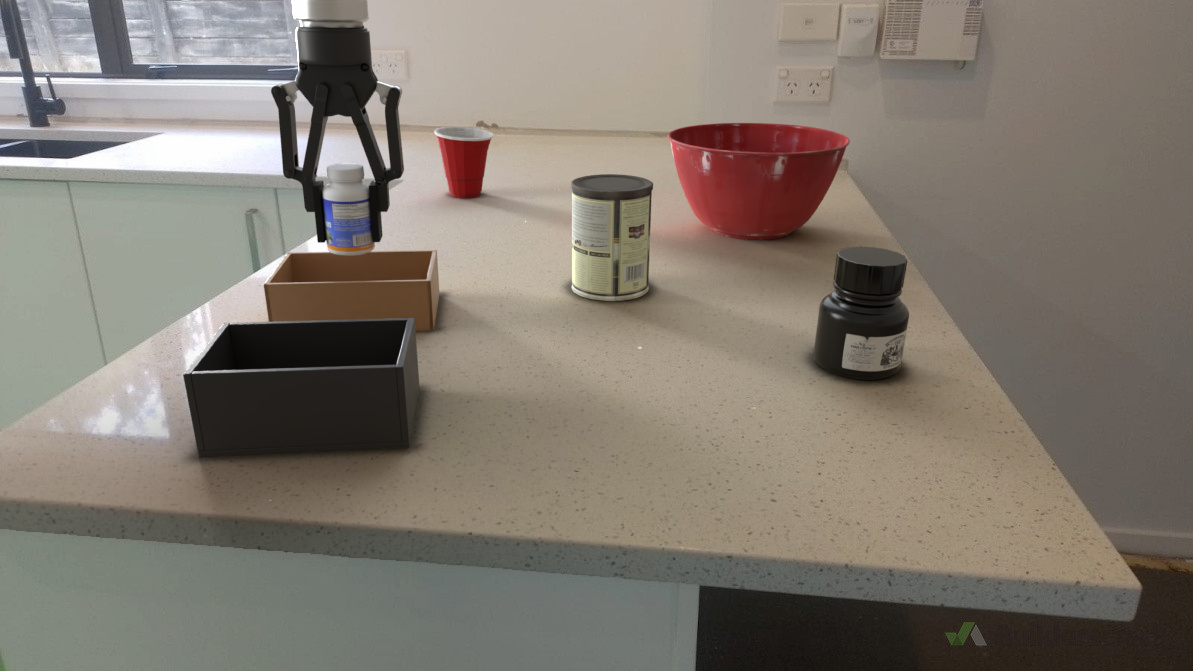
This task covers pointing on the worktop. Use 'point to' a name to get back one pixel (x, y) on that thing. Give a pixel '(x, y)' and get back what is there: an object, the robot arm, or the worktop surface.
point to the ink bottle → (863, 315)
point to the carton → (355, 287)
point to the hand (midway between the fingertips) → (350, 238)
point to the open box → (305, 387)
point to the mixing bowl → (755, 175)
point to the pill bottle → (347, 210)
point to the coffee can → (611, 236)
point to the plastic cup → (464, 158)
